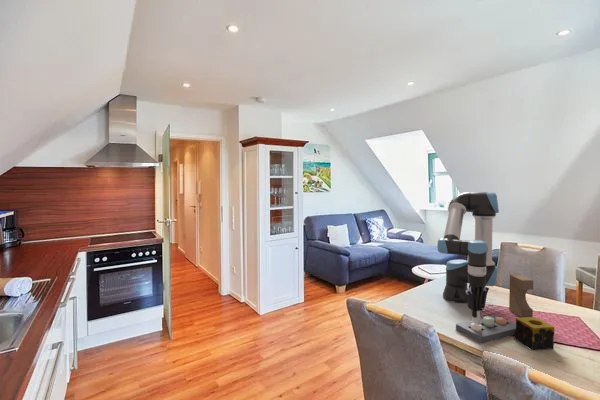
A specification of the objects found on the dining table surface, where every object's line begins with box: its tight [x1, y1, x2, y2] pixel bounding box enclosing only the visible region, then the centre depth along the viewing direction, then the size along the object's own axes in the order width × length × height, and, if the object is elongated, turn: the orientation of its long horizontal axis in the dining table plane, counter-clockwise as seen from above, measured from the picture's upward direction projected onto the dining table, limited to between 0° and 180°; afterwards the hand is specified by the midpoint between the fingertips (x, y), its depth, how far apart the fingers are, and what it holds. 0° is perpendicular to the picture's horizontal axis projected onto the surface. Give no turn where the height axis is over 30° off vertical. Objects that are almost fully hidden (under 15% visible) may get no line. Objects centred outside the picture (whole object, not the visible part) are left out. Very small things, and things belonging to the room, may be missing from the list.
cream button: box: [471, 323, 482, 332], centre depth 146 cm, size 4×4×4 cm
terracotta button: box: [496, 316, 507, 326], centre depth 152 cm, size 4×4×4 cm
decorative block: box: [508, 273, 534, 318], centre depth 167 cm, size 11×6×20 cm, turn 177°
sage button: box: [483, 315, 494, 329], centre depth 149 cm, size 4×4×4 cm
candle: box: [513, 316, 555, 351], centre depth 137 cm, size 10×10×10 cm
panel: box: [455, 314, 516, 345], centre depth 149 cm, size 14×26×3 cm, turn 110°
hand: (476, 323), depth 147 cm, fingers closed
